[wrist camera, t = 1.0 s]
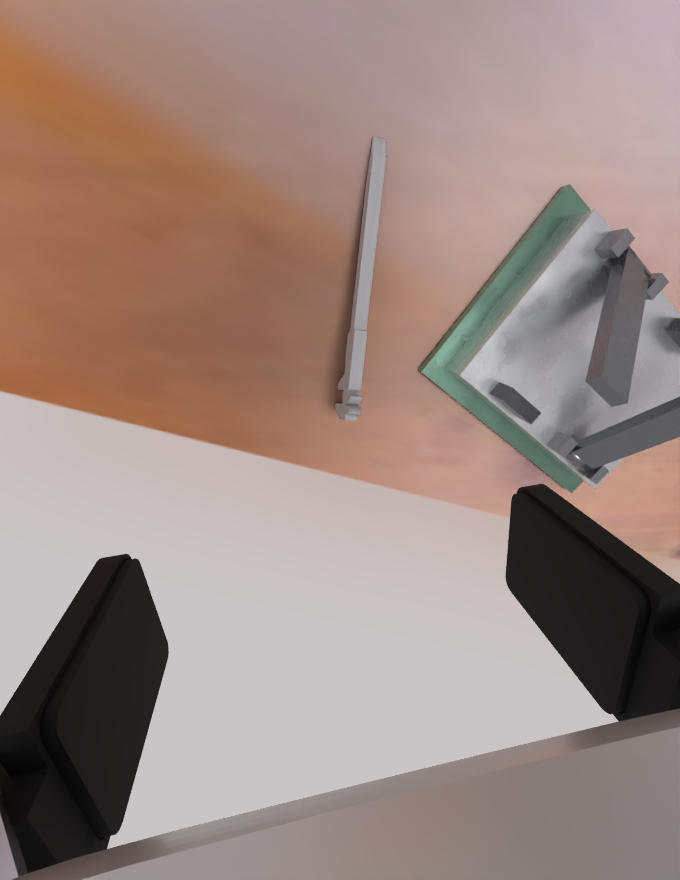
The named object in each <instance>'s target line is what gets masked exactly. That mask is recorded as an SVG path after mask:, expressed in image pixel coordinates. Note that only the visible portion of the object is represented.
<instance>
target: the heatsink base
mask: <svg viewBox="0 0 680 880" xmlns="http://www.w3.org/2000/svg"><path fill="white" fill-rule="evenodd" d="M634 239H635V238H634V236H633V235H632V234H631V233H630V231H629V230H628V229H621V230H615V231H613V230H612V229H611V227H610V226H609V225H608V224H607V222H606V221H605V220H604V219H603V217H602V216H601V215H600V214H599V212H598V211H597V210H596V209H593V210H590V209H589V207H588V206H587V205H586V204H585V203H584V201H583V200H582V199H581V198H580V196H579V195H578V194H577V193H576V191H575V190H574V189H573V188H572V186H571V185H567V186H564V187H561V189H560V190H559V191H558V192H557V194H556V195H555V196H554V197H553V199H552V200H551V201H550V202H549V204H548V205H547V206H546V208H545V209H544V210H543V211H542V213H541V214H540V215H539V216H538V218H537V219H536V220H535V222H534V223H533V224H532V225H531V227H530V228H529V229H528V230H527V232H526V233H525V234H524V236H523V237H522V238H521V239H520V241H519V242H518V243H517V244H516V246H515V247H514V248H513V249H512V251H511V252H510V253H509V255H508V256H507V257H506V258H505V260H504V261H503V262H502V263H501V265H500V266H499V267H498V269H497V270H496V271H495V272H494V274H493V275H492V276H491V277H490V279H489V280H488V281H487V282H486V284H485V285H484V286H483V288H482V289H481V290H480V291H479V293H478V294H477V295H476V296H475V298H474V299H473V300H472V302H471V303H470V304H469V305H468V307H467V308H466V309H465V310H464V312H463V313H462V314H461V315H460V317H459V318H458V319H457V321H456V322H455V323H454V324H453V326H452V327H451V328H450V329H449V331H448V332H447V333H446V335H445V336H444V337H443V338H442V340H441V341H440V342H439V343H438V345H437V346H436V347H435V348H434V350H433V351H432V352H431V354H430V355H429V356H428V357H427V359H426V360H425V361H424V362H423V364H422V365H421V366H420V368H419V369H418V370H419V371H420V372H421V373H422V374H424V375H425V376H426V377H427V378H429V379H430V380H431V381H432V382H434V383H435V384H436V385H437V386H438V387H440V388H441V389H442V390H443V391H445V392H446V393H447V394H448V395H450V396H451V397H452V398H453V399H455V400H456V401H457V402H458V403H460V404H461V405H462V406H463V407H465V408H466V409H467V410H468V411H470V412H471V413H472V414H473V415H474V416H476V417H477V418H478V419H479V420H481V421H482V422H483V423H484V424H486V425H487V426H488V427H489V428H491V429H492V430H493V431H494V432H496V433H497V434H498V435H499V436H501V437H502V438H503V439H504V440H506V441H507V442H508V443H509V444H510V445H512V446H513V447H514V448H515V449H517V450H518V451H519V452H520V453H522V454H523V455H524V456H525V457H527V458H528V459H529V460H530V461H532V462H533V463H534V464H535V465H537V466H538V467H539V468H540V469H542V470H543V471H544V472H545V473H546V474H548V475H549V476H550V477H551V478H553V479H554V480H555V481H556V482H558V483H559V484H560V485H561V486H563V487H564V488H565V489H567V490H568V491H569V492H571V493H572V492H573V491H574V490H575V489H576V488H577V487H578V486H579V485H580V484H581V483H582V482H585V483H587V484H588V485H590V486H591V487H593V488H594V489H596V488H597V487H598V486H599V485H600V484H601V482H602V481H603V480H604V479H605V478H606V477H607V476H608V475H609V474H610V473H611V472H612V471H613V470H614V469H615V468H616V467H617V466H618V465H619V464H620V463H621V462H622V461H623V460H624V459H625V458H626V457H624V458H621V459H619V460H616V461H613V462H611V463H608V464H605V465H603V466H600V467H597V468H595V469H592V470H591V471H589V472H583V471H582V470H581V469H580V468H578V467H577V466H576V465H575V464H574V463H572V462H571V461H570V460H569V459H568V458H567V457H566V456H567V455H568V454H569V453H570V452H571V451H572V450H573V449H574V448H575V446H576V445H577V444H578V443H577V442H576V441H578V440H580V439H583V438H585V437H587V436H590V435H592V434H594V433H597V432H599V431H601V430H604V429H606V428H608V427H610V426H613V425H615V424H617V423H620V422H622V421H624V420H627V419H629V418H631V417H634V416H636V415H638V414H640V413H643V412H645V411H647V410H650V409H652V408H654V407H657V406H659V405H661V404H664V403H666V402H668V401H670V400H673V399H675V398H677V397H680V314H679V312H678V311H677V310H676V309H675V307H674V306H673V305H672V304H671V302H670V301H669V300H668V299H667V297H666V296H665V295H664V294H663V292H662V291H661V290H662V289H663V288H664V287H665V286H666V285H667V284H668V283H669V281H668V280H667V279H666V278H665V276H664V275H663V274H662V273H654V274H651V277H650V278H649V283H648V288H647V294H646V300H645V306H644V312H643V317H642V323H641V329H640V335H639V341H638V346H637V352H636V358H635V364H634V370H633V375H632V381H631V387H630V393H629V399H628V404H623V405H618V406H613V407H611V406H610V405H609V404H608V403H607V402H606V401H605V400H604V399H603V398H602V397H601V396H600V395H599V394H598V393H597V392H596V391H595V390H594V389H593V388H592V387H591V386H590V385H589V384H588V383H587V382H585V381H586V377H587V372H588V368H589V363H590V359H591V354H592V350H593V346H594V341H595V337H596V332H597V328H598V323H599V319H600V315H601V310H602V306H603V301H604V297H605V292H606V288H607V284H608V279H609V275H610V270H611V266H612V261H613V259H612V258H619V256H620V255H621V254H622V253H623V252H624V251H625V249H626V248H627V247H628V246H629V245H630V243H631V242H632V241H633V240H634Z"/></svg>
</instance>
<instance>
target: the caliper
mask: <svg viewBox="0 0 680 880" xmlns="http://www.w3.org/2000/svg"><path fill="white" fill-rule="evenodd" d="M385 150H386V140H385V139H381V138H376V137H373V138H372V145H371V155H370V159H369V166H368V173H367V180H366V188H365V198H364V207H363V216H362V226H361V235H360V244H359V253H358V263H357V272H356V281H355V290H354V299H353V308H352V317H351V327H350V332H349V333H348V337H347V348H346V359H345V374H344V375H343V377H342V378H341V380H340V381H339V383H338V388H337V389H339V390H344V392H343V401H342V404H338V403H335V410H336V412H337V414H338V416H339V418H340V419H343V420H353V421H357V417H358V414H361V409H360V407H359V406H358V404H360V403H361V402H362V400H363V397H360V396H359V391H361V385H362V376H363V367H364V358H365V349H366V340H367V332H368V331H367V330H366V329H367V320H368V312H369V303H370V294H371V286H372V277H373V268H374V260H375V251H376V242H377V234H378V225H379V216H380V208H381V199H382V190H383V181H384V173H385V164H386V155H385Z"/></svg>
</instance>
